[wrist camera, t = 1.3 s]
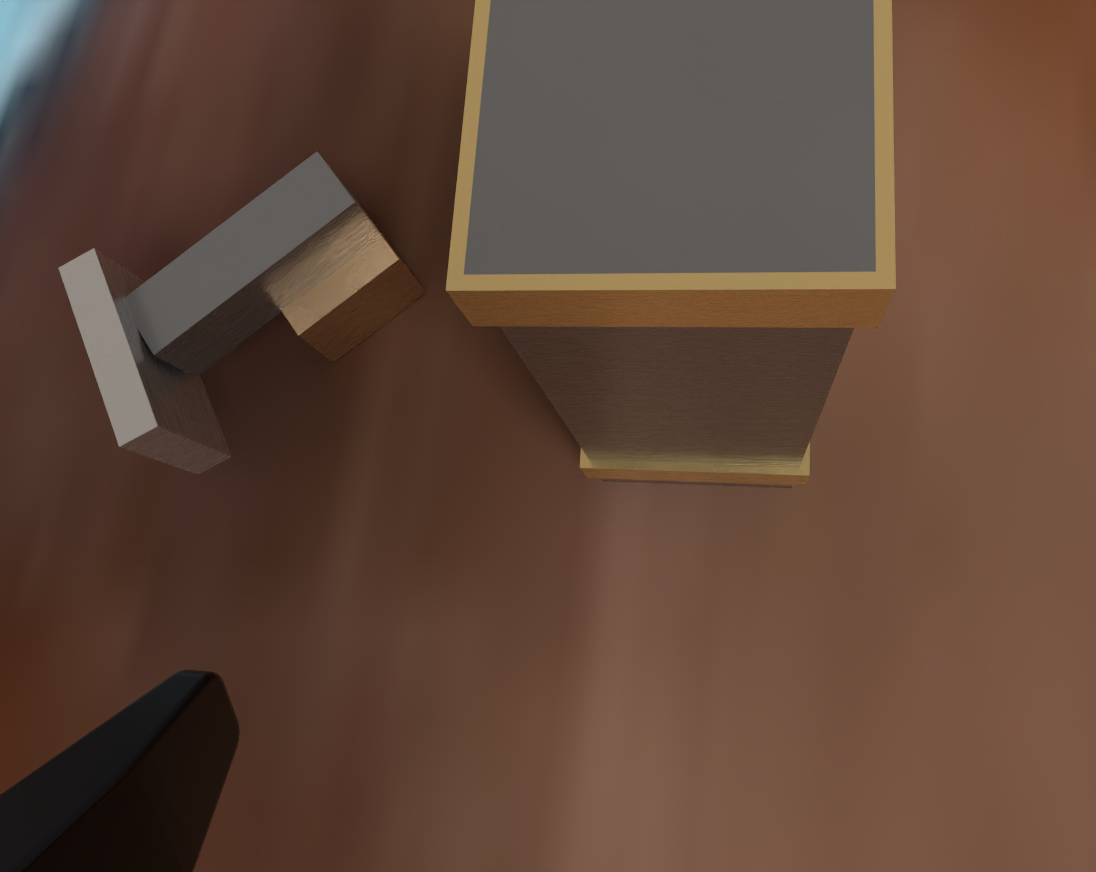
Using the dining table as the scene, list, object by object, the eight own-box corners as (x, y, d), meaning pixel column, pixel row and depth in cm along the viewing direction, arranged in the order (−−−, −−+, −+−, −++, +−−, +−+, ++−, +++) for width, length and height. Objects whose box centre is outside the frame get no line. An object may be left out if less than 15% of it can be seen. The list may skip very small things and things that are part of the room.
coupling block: (800, 496, 22) (895, 288, 10) (595, 488, 23) (445, 290, 11) (802, 302, 23) (890, -107, 11) (606, 302, 24) (482, -73, 12)
